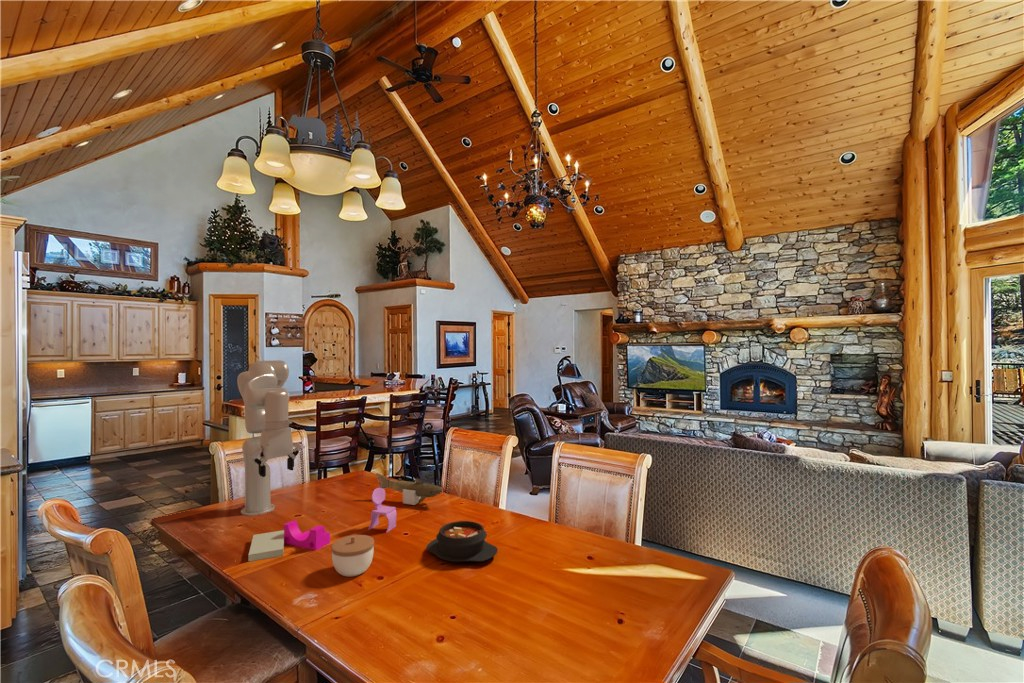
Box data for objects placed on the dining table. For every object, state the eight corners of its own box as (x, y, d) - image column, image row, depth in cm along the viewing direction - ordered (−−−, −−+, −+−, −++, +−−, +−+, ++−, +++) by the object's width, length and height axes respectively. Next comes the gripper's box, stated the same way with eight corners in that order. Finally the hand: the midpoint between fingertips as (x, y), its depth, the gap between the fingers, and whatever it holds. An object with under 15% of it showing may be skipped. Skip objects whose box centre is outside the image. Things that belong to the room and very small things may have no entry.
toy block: (329, 545, 161) (329, 523, 161) (316, 552, 155) (316, 530, 155) (298, 538, 167) (298, 517, 167) (284, 545, 161) (284, 524, 161)
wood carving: (382, 493, 215) (382, 470, 215) (447, 502, 202) (447, 477, 202) (370, 499, 207) (370, 475, 207) (436, 509, 194) (436, 483, 194)
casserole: (507, 549, 157) (506, 525, 157) (481, 574, 140) (480, 547, 140) (445, 536, 167) (445, 514, 167) (414, 558, 150) (414, 533, 150)
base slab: (253, 544, 162) (253, 534, 162) (284, 539, 167) (284, 530, 167) (248, 565, 147) (248, 554, 147) (282, 559, 151) (282, 548, 151)
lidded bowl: (382, 566, 145) (382, 531, 145) (356, 586, 133) (356, 548, 133) (349, 560, 149) (349, 526, 149) (322, 579, 137) (322, 542, 137)
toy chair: (386, 533, 170) (386, 493, 170) (366, 530, 173) (366, 491, 173) (398, 525, 178) (398, 487, 178) (379, 522, 180) (379, 484, 180)
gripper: (295, 420, 171) (295, 465, 171) (246, 427, 157) (246, 476, 158) (305, 422, 167) (305, 469, 167) (255, 430, 153) (255, 481, 153)
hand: (276, 472), depth 162 cm, fingers open, 9 cm apart
